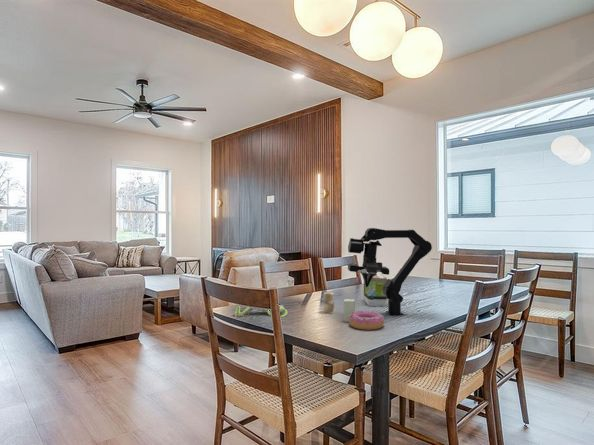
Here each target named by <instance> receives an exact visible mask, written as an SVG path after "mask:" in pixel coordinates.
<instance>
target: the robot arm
mask: <svg viewBox="0 0 594 445" xmlns="http://www.w3.org/2000/svg"><path fill="white" fill-rule="evenodd" d="M399 238H400V239H401V238H402V239H404V238H405V239H409V241H410V242H411V244H413V245H414V246H413V247H412V252H411V254H410V256H408V258H407V260H406V261H405V262H404V264H403V265H402V267H401V268H400V269H399V270H398V272H397V274H396V275H395V276H394V277H393V278H392V279H390V278H387V281H386V283H385V284H384V285H383V286H384V287H383V289H382V290H383V293H384V295H386V297H387V302H388V303H387V308H388V309H387V310H386V311H385V312H386V314H388V315H390V316H402V315H403V316H404V312H402V307H401V306H402V305H401V304H402V303H403V300H404V297H403V296H402V295H401V294H400V292H401V290H402V285H403V284H404V282H405V280H406V279H407V277H408V276H409V275H410V274H411V272H412V271H413V270H414V268H415V267H416V266H417V265H418V263H419V262H420V260H421V259H423V258H424V257H426V256H427V255H428V254H429V253H431V251H432V250H433V245H432V243H431V242H430V241H428V240H426V239H424V238H423V237H422V236H421V235H420V234H418V233H417V231H416V230H414V229H387V230H386V229H380V228H377V227H376V228H375V227H369V228H367V229H365V232H364V234H363V236H362V237H361V238H353V237H350V238H349V242H348V245H347V252H348V253H350V254H351V253H352V254H361V253H363V255H362V266H359V264H357V263H348V264H347V270H348V272H353V273H357V272H358V271H359V273H360V274H361V276H362V278H363V284H364V283H365V287H368V285H369V283H370V281H371V279H372V278H373V276H375V275H377V273H380V274H381V275H387V276H388V275H390V269H389V268H388V267H386V266H383V262H380V261H379V262H378V261H377V251H378V247H382V244H381V242H380V241H379V240H382V239H383V240H384V239H399Z"/></svg>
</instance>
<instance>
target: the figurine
mask: <svg viewBox="0 0 594 445" xmlns="http://www.w3.org/2000/svg"><path fill="white" fill-rule="evenodd" d="M278 304H279V306H280V311H279V312H281V311H283V312H284V314H282V315H281V318H285V317H286V316H287V315H288V310H287V309H286V308H285V306H284V304H282V303H278ZM250 309H251V308H250V307H248V306H247V307H246V308H245V309H244V310H242V311H241V306H240V305H237V306H236V308H235V312H234V317H235V316H236V317H237V316H238V315H239V316H243V315H244V314H245V313H246V312H247V311H248V310H250ZM260 310H262V311H264V312H265V311H267V312H266V313H267V314H268V315H269V316H272V315H271V311H269V310H264V309H260Z"/></svg>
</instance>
